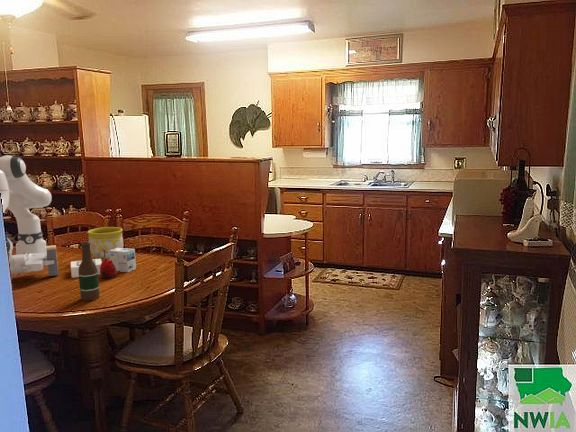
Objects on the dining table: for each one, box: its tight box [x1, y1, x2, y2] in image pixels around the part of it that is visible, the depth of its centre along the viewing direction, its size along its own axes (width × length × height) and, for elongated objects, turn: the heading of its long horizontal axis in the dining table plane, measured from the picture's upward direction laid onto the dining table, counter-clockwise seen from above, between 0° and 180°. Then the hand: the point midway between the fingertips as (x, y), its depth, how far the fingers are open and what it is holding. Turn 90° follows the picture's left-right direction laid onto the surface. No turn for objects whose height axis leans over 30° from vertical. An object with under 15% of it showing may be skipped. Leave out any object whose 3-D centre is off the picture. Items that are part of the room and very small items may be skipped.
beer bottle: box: [78, 241, 100, 302], centre depth 196 cm, size 8×8×24 cm
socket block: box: [70, 259, 102, 279], centre depth 235 cm, size 12×14×5 cm
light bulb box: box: [110, 247, 137, 273], centre depth 238 cm, size 11×7×11 cm, turn 71°
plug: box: [46, 244, 59, 277], centre depth 229 cm, size 4×4×14 cm
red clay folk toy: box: [99, 249, 117, 280], centre depth 226 cm, size 8×7×15 cm
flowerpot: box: [87, 226, 124, 262], centre depth 259 cm, size 18×18×16 cm
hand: (54, 260), depth 229 cm, fingers closed on plug, 4 cm apart
